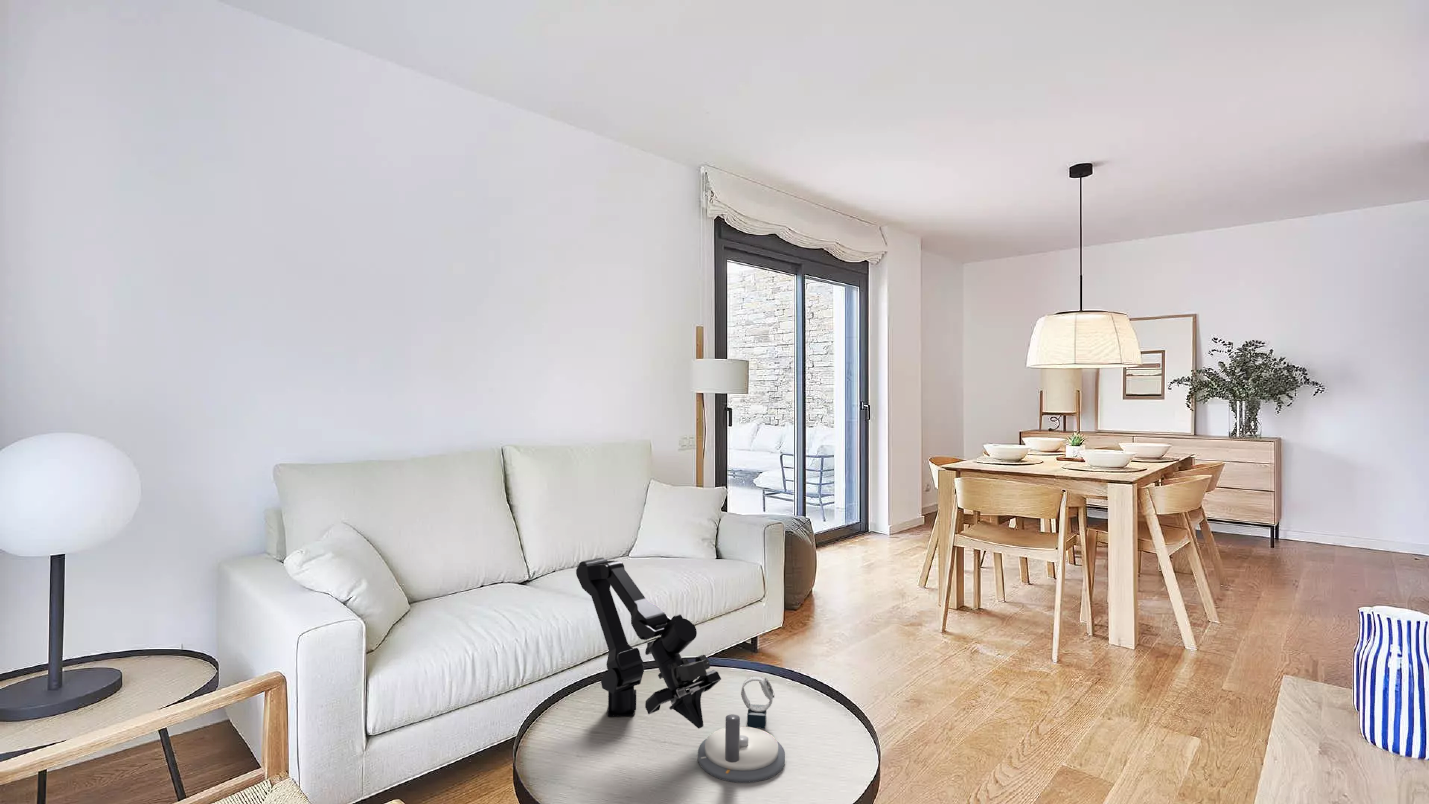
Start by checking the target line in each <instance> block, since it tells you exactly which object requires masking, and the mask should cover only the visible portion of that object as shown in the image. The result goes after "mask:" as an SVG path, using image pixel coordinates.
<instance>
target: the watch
mask: <svg viewBox="0 0 1429 804" xmlns="http://www.w3.org/2000/svg"><path fill="white" fill-rule="evenodd" d="M751 682H759V685H760V688H761V691H762V692H763V695H764V696H765V698H766V699H768V701H769V702H767V703H766V704H756V703H755V704H753V703H751V702H750V700H749V698H748V696H747V694H746V691H745V686H746V685H747V684H749V683H751ZM740 696H741V700H742V702H743V703H744V705H745V707H746V708H747V716H746V719H747V720H746V723H747V724H746V727H752V728H757V729H766V726H767V712H768V711H767V710H768V709H769V708H771V706H772V704H773V700H774V698H775V692H774V689H773V686H772V684H771V682H770V681H769V680H768V678H766V677H763V676H760V675H752V676H751V675H750V676H749V677H747V678H746V679H745V680H744V681H743V683H742V687H741V691H740Z"/></svg>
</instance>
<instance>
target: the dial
mask: <svg viewBox="0 0 1429 804" xmlns="http://www.w3.org/2000/svg"><path fill="white" fill-rule="evenodd" d="M740 724H741V717H740V716H739V715H738V714H727V715H726V716H725V726H724V727H723V728H719V729H717V730H715V731H713V732H711V733H710V734H709V735H708V736H707V737H706V738H705V739H706V741H705V754H706V756H707V757H708V759H709V760H710V761H711V762H713V763H714V764H716V765H718V766H720V767H723V768H727V769H731V770H739V771H748V770H756V769H760V768H764V767H766V766H768V765H770V764H771V763H773V762H774V761H775V760H776V758H777V756H778V743H777V739H776V738H775V737H774V735H772V734H771V733H769V732H767V731H765V730H763V729H761V728H752V727H747V726H744V725H743V726H741V725H740Z"/></svg>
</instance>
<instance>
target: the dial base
mask: <svg viewBox="0 0 1429 804" xmlns="http://www.w3.org/2000/svg"><path fill="white" fill-rule="evenodd" d="M706 739H707V738H705V739H704V740H703V741H702V742H701V743H700V744H699V746H698V750H697V753H698V754H697V760H698V764H699V766H700V767H701V769H702V770H703V771H704V772H705V773H706V774H708V775H710V776H712V777H714V778H716V779H719V780H723V781H726V782H732V783H740V784H741V783H745V784H748V783H756V782H761V781H765V780H768V779H770V778H773V777H775V776H776V775H778V774H779V773H780V772H781V771H782V770H783V768H784V767H785V763H786V752H785V749H784V747H783V745H782V744H781V743H780V742H779V741H777V743H778V756H777V758H776V760H775V761H774V762H773V763H771V764H770V765H768V766H766V767H764V768H760V769H756V770H748V771H739V770H731V769H727V768H723V767H720V766H718V765H716V764H714V763H713V762H711V761H710V760H709V759H708V757H707V756H706V754H705V741H706Z"/></svg>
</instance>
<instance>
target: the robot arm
mask: <svg viewBox="0 0 1429 804" xmlns="http://www.w3.org/2000/svg"><path fill="white" fill-rule="evenodd" d="M575 574H576V575H575V576H576V578H577V579H578V581H579V584H580V587H581V588H582V589H583V590H584V591H585V592H586V593H587V594H588V595H589V597H591V600H592V603H593V606H594V609H595V611H596V615H597V618H598V621H599V622H598V623H600V627H601V630H602V633H603V637H604V640H605V643H606V646H607V649H608V656H607V659H606V669H607V672H606V673H605V675H603V677H602V678H601V679H600V682H601V688H602V689H603V690H605V691H606V692H607V693H608V701H607V702H608V703H607V704H608V705H607V713H606V714H607V717H609V718H610V717H611V718H612V717H632V716H635V711H637V689H636V688H635V686H637V685H641V682H642V679H643V674H644V672H645V665H644V664H645V663H644V660H643V659H642V656H641V652H640V649H639V648H638V647H632V646H631V645H630V644H629V642H628V640H627V636H626V633H625V631H624V628H623V625H622V622H621V618H620V615H619V613H618V610H617V609H618V608H617V606H616V604H615V600H614V597H613V594H612V592H611V587H612V589H613V590H614V593H616V596H617V597H618V598H619V599H620V601H621V603H622V604H623V605H624V607H625V608H626V609H627V611H628V613H629V614H630V625H631V627H632V628H633V630H634V633H635V634H636V636H637V637H638V638H639V639H640V640H641V641H643V640H644V641H647V640H651V639H654V638H655V639H654V640H651V641H649V642H647V645H646V649H645V655H646V656H649V655H652V657H653V660H654V662H655V664H656V666H657V668H658V670H659V672H660V673H658V674H657V677H658V678H659V680H661V679H663V680H664V683H665V685H666V687H665V688H662V689H659V690H657V691H654V692H653V693H652V694H651V695H650V696H649V697H648V698H647V699H646V700H645V704H644V706H645V707H644V708H645V710H646V711H647V714H648V715H650V714H653V713H654V714H655V712H658V711H660V709H661V705H663V704H665V703H668V702H670V703H671V705H670V706H669V707H668V708H669V710H673V711H675V712H677V713H678V714H680V715H681V716H682V717H684V719H686V720H687V721H689V722H690V723H691V724H692V725H694V726H695V727H696V728H697V729H698V730H699V729H701V728H703V727H704V721H703V720H704V719H703V712H702V705H701V703H702V702H701V700H702V695H703V693H706V692H708V691H710V690H711V689H712V688H713V687H714V686H715V685H717V684H718V683H719V682H720V681H722V677H721V675H720V673H719V672H718V670H715V669H712V670H709V669H710V668H711V664H710V660H709V658H707V657H708V656H707V655H706V654H701V655H698V656H696V657H695V660H694V661H693V662H689V659H688V658H686V657H684V658H683V657H682V655H681V653H682V652H683V651H684V650H685V649H686V648H687V647H688V646H689V645H690V644H691V643H692V642H693V641H694V640H695V639H696V638H697V634H698V633H697V627H696V625H695V624H694V623H693V622H691V621H690V620H689V619H687V618H683V616H682V614H680V613H679V614H675V615H673V616H672V617H670V616H668V615H667V614H666V613H665V612H664V610H663V609H661V607H659V606H658V605H657V604H655V603H653V602H651V601H649V600H648V599H647V598H646V597H645V595H644V594H643V593H642V591H641V590H640V588H639V586H637V584H636V583H635V581H634V580H633V579H632V577H631V576H630V574H629V573H628V571H626V569H625V565H624V563H623V562H622V561H620V560H608V559H606V558H604V557H596V558H592V559H587V560H583V561H580V562H579V563H578V565H577V568H576V569H575ZM707 670H709V671H707Z"/></svg>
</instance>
